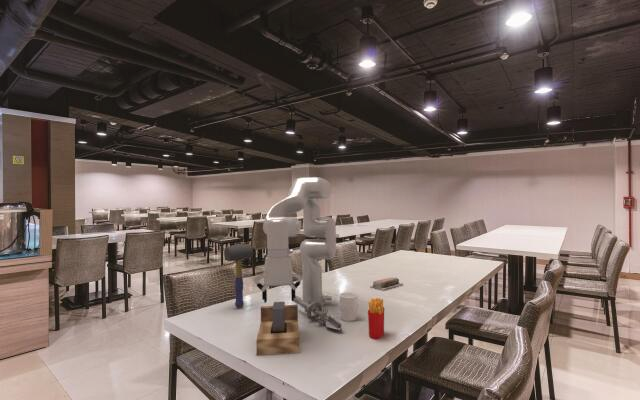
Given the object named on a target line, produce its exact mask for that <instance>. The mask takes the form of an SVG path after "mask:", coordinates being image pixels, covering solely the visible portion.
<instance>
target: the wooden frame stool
mask: <svg viewBox="0 0 640 400" xmlns="http://www.w3.org/2000/svg"><path fill="white" fill-rule="evenodd" d="M272 309H273V305H263V306H262V305H261V306H260V324H259V327H258V333H257V337H256V356H263V355H279V354H297V353H300V352H301V351H300V350H301V348H300V347H301V346H300V343H301V342H300V327H299V307H298V304H288V305H286V304H285V333H273V320H272Z"/></svg>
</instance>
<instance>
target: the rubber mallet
mask: <svg viewBox="0 0 640 400" xmlns="http://www.w3.org/2000/svg"><path fill="white" fill-rule="evenodd" d="M253 248H254V247H252V245H251V244H250V243H248V244H234V245H230V246H229V245H228V246H226V247H225V248H224V251H223V252H224V253H223V254H224V255H223V256H224V259H225V260H226V261H227V262H235V263H236V265H235V266H236V271H235V272H236V273H235V274H236V276H235V282H234V290H235V303H234V306H235V308H236V309H242V308H243V306H244V304H245V303H244V293H243V292H244V279H243V269H242V268H243V266H242V263H243V262H242V261H244V260H248V259H251V258H252V257H253V255H254V249H253Z"/></svg>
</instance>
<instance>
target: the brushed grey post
mask: <svg viewBox="0 0 640 400" xmlns="http://www.w3.org/2000/svg"><path fill="white" fill-rule="evenodd" d="M285 303H286V302H285V301H274V302H273V304H272V306H273V309H272V320H273V333H285V305H286V304H285Z"/></svg>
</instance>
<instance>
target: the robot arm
mask: <svg viewBox="0 0 640 400" xmlns="http://www.w3.org/2000/svg"><path fill="white" fill-rule="evenodd" d="M287 193H288V194H287V195H286V197H285V198H283V199H282V200H280V201H279V202H277V203H276V204H274V205H272V206H271V207H270V208H269V210H268V211H267V214H266V216H265V217H264V221H263V224H262V230H263V232H264V235H266V241H267V243H266V246H267V247H266V249H267V256H266V257H265V260H264V269H263V270H264V271H263V273H261V274H260V275H258V276H256V277H255V278H254V280H253V281H254V284H255V285H256V287H257V288H258V289H259V290H260V291H261V292H262V293H261V297H262V298H261V300H262V301H263V303H265V304H266V303H267V302H268V291H267V290H268V287H276V286H277V287H280V286H289V287H290V288H291V289H290V292H291V293H290V294H291V295H290V296H291V301H292V302H294V298H295V296H296V290H297V288H298V287H299V286H300V285H302V301H303V302H308V301H310V304H312V303H313V302H319V303H321V305H322V307H325V305H326V301H332V300H333V299H332V298H333V297H332V295H324V294H323V274H322V273H323V269H322V266H321V263H320V262H319V260H333V259H334V258H336V253H337V230H336V229H337V228H336V221H335V219H333V218H332V217H328V216H321V206H320V204H319V202H318V201H317V200H319V199H320V200H323V199H324V200H325V199H328V198H329V197H330V196H331V193H332V186H331V184H330V182H329V181H328V180H326V179H324V178H322V177H318V176H311V177H310V176H308V177H307V176H306V177H305V176H304V177H298V178H296V179H294V180H293V182H292V184H291V186H290V188H289V191H288V192H287ZM300 211H302V213H303V216H302V217H303V218H302V223H303V224H301V221H300V220H299V219H298V217H295V216H294V217H293V216H291V215H293V214H296V213H298V212H300ZM302 226H303V234H304V235H305V236H306V237H313V238H314V237H317V238H318V239H317V238H315V239H313V238H310V239H309V238H308V239H305V240H303V241H302V242H301V243H300V246H299V253H300V257H301V268H302V269H301V270H302V273H301V274H298V273H297V272H294V269H293V260H292V257H291V255H290V254H293V253H294V252H293V249H290V248H289V237H290V238H293V237H296V236H297V235H299V233H300V232H301V230H302ZM319 237H320V238H321V237H323V238H324V239H319ZM294 278H295V279H297V281H296V282H295V283H294V282H293V281H294V280H293V279H294ZM262 279H263V282H264V283H263V284H262V283H261V282H260V281H261V280H262ZM299 306H300V307H302V305H301V304H299ZM315 307H316V306H315ZM315 307H314V309H315ZM317 308H318V307H316V309H317Z"/></svg>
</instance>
